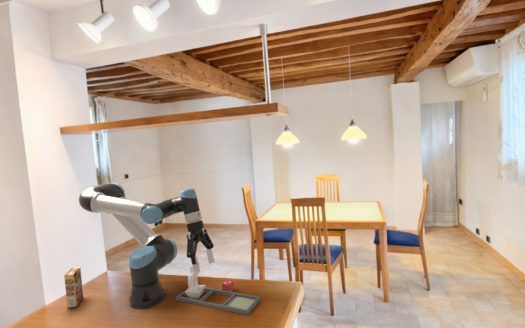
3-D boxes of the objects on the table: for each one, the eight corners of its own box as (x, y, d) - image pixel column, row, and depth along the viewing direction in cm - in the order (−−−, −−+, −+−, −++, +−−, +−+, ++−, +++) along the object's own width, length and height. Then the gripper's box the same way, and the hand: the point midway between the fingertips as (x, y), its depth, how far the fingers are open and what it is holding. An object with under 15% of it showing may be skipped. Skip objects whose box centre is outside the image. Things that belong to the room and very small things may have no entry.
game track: (176, 300, 141) (175, 296, 141) (192, 287, 152) (192, 284, 152) (247, 315, 125) (247, 311, 125) (260, 300, 135) (260, 296, 135)
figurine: (184, 301, 140) (180, 268, 138) (193, 290, 149) (190, 260, 148) (199, 301, 138) (196, 269, 137) (207, 291, 147) (204, 260, 146)
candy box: (77, 306, 142) (73, 274, 140) (67, 308, 141) (62, 275, 140) (84, 297, 150) (80, 266, 149) (74, 298, 149) (70, 267, 148)
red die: (222, 292, 145) (221, 283, 145) (227, 288, 149) (226, 279, 149) (229, 293, 144) (229, 284, 143) (234, 289, 147) (233, 280, 147)
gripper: (186, 224, 133) (197, 274, 131) (213, 216, 157) (223, 258, 154) (171, 228, 135) (182, 276, 133) (201, 219, 159) (210, 260, 157)
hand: (204, 266), depth 144 cm, fingers open, 13 cm apart
